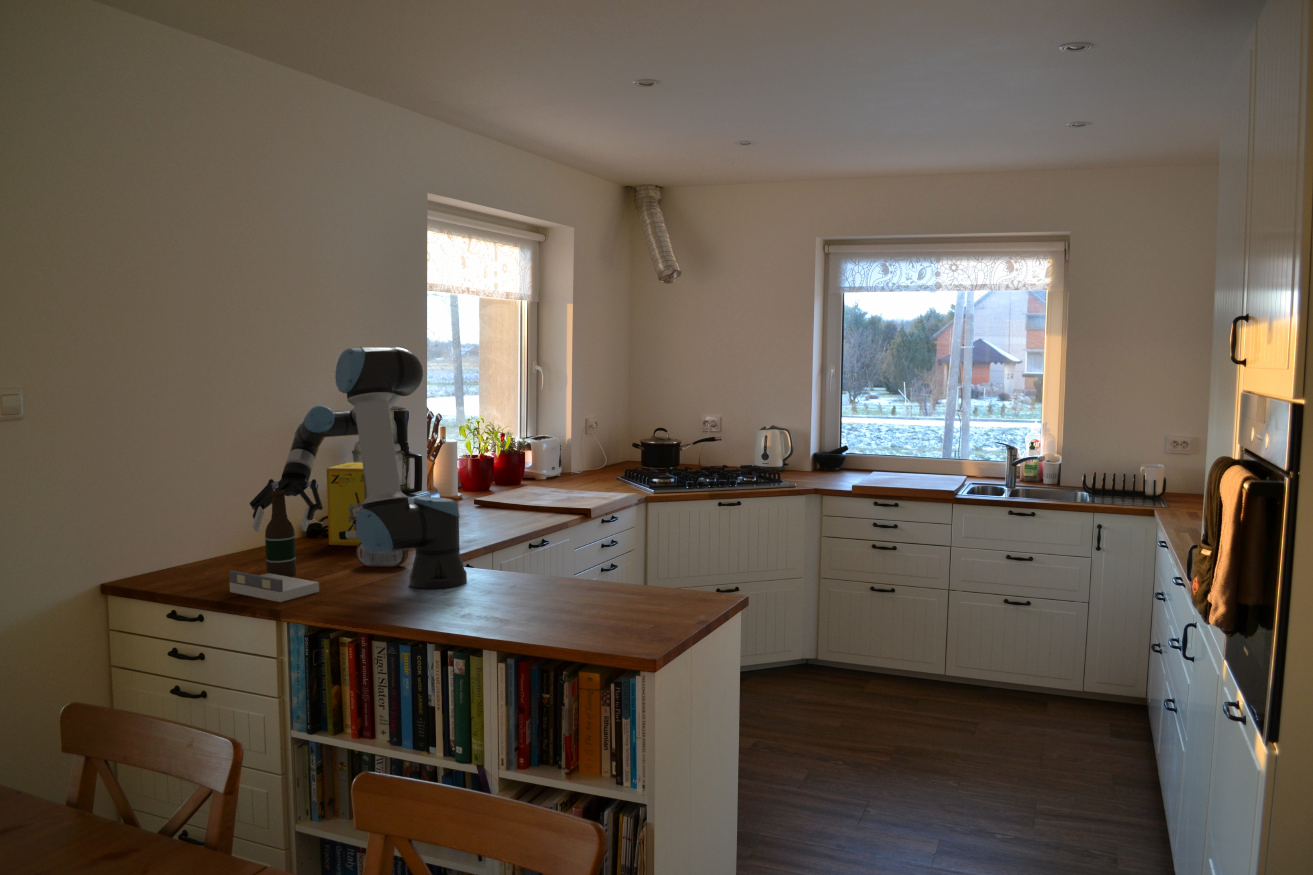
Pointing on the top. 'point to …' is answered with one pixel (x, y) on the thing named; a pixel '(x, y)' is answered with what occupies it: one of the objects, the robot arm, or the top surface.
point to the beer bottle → (280, 539)
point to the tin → (380, 557)
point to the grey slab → (271, 586)
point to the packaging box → (345, 502)
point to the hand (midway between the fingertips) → (279, 528)
